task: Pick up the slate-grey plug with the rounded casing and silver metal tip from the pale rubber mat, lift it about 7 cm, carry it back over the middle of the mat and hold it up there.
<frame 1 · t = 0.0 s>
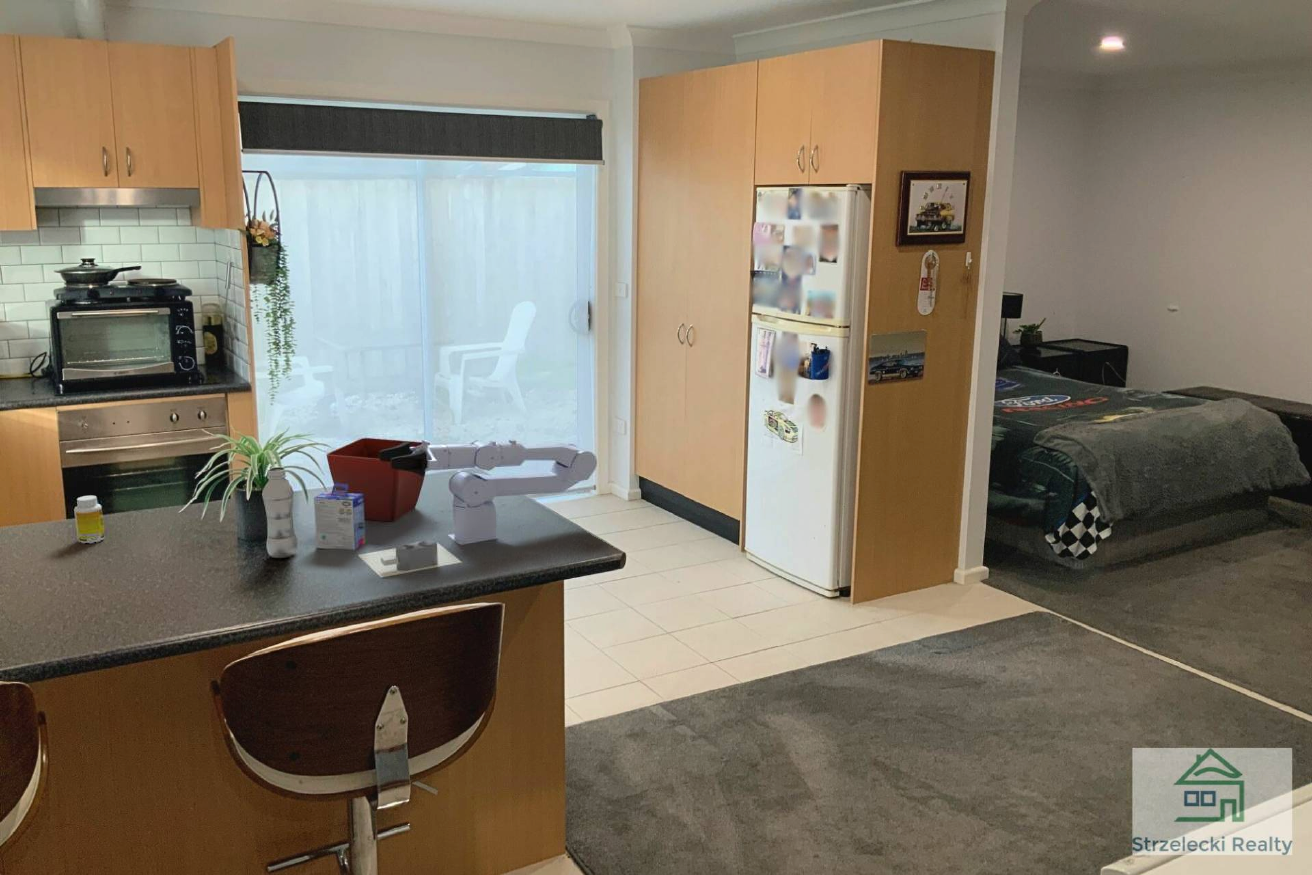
hand: (385, 459, 231), 22 cm above the worktop, tool horizontal, fingers open, 7 cm apart
mat: (409, 561, 232), on the worktop
plastic bottle: (283, 557, 234), on the worktop
plug: (417, 565, 227), point 1 cm above the worktop, touching mat
plant pot: (382, 513, 265), on the worktop
supplement bottle: (91, 541, 243), on the worktop
ink cartridge box: (341, 547, 241), on the worktop
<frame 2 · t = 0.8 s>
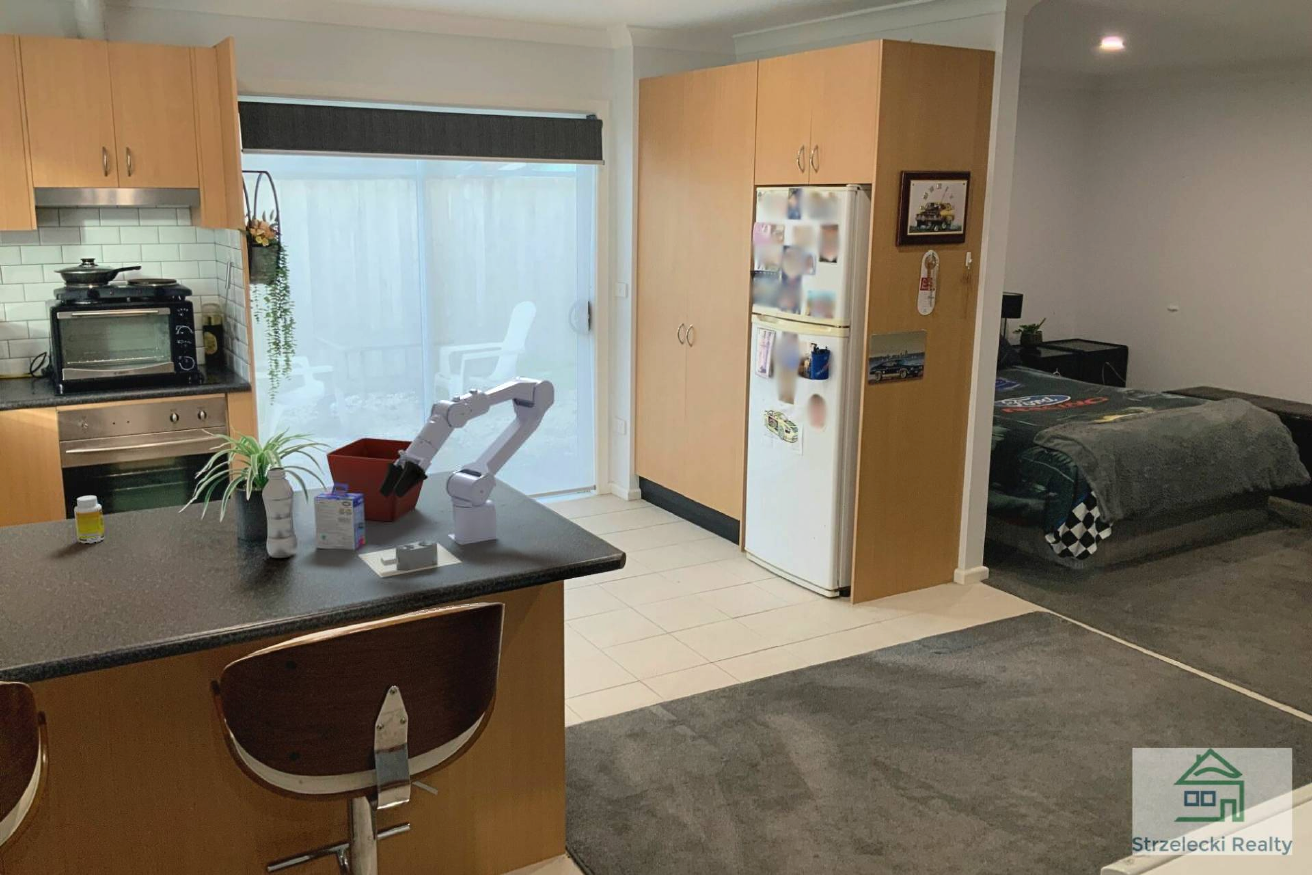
hand: (389, 494, 227), 16 cm above the worktop, tool tilted 50°, fingers open, 7 cm apart
nothing on the worktop moved.
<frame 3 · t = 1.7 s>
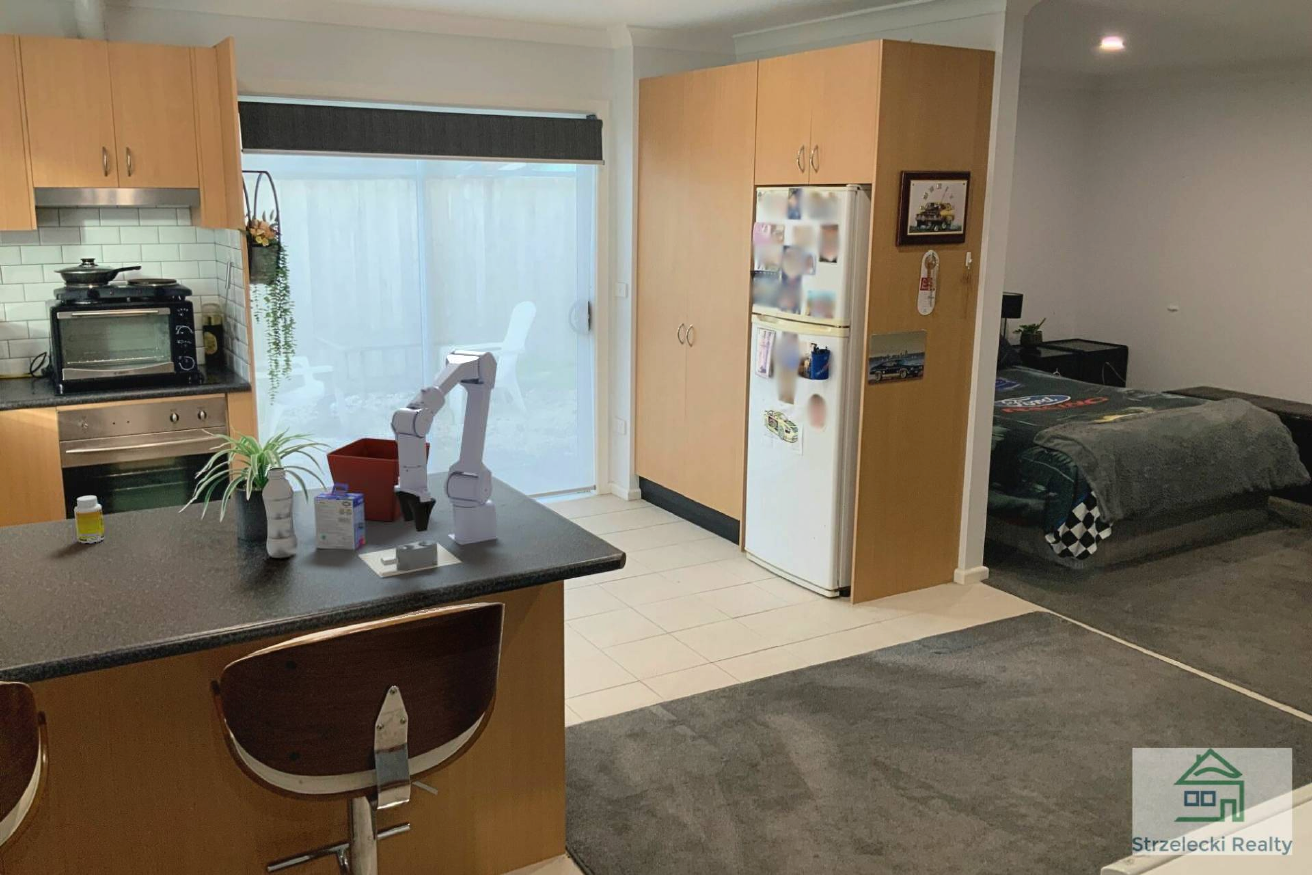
hand: (415, 525, 225), 10 cm above the worktop, tool pointing down, fingers open, 7 cm apart
nothing on the worktop moved.
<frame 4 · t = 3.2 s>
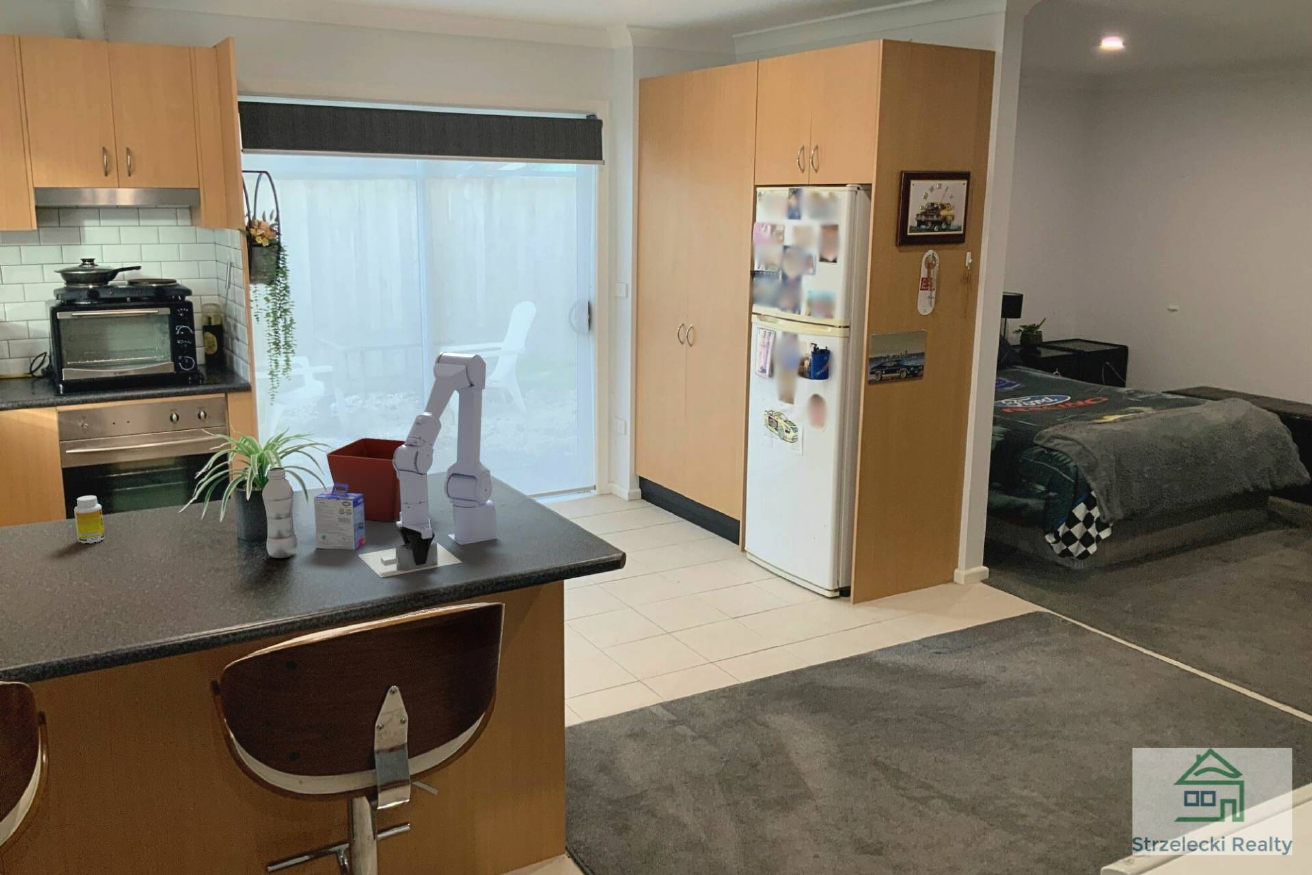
hand: (417, 560, 227), 2 cm above the worktop, tool pointing down, fingers closed on plug, 4 cm apart
plug: (417, 565, 227), point 1 cm above the worktop, touching gripper, mat
everything else where it was.
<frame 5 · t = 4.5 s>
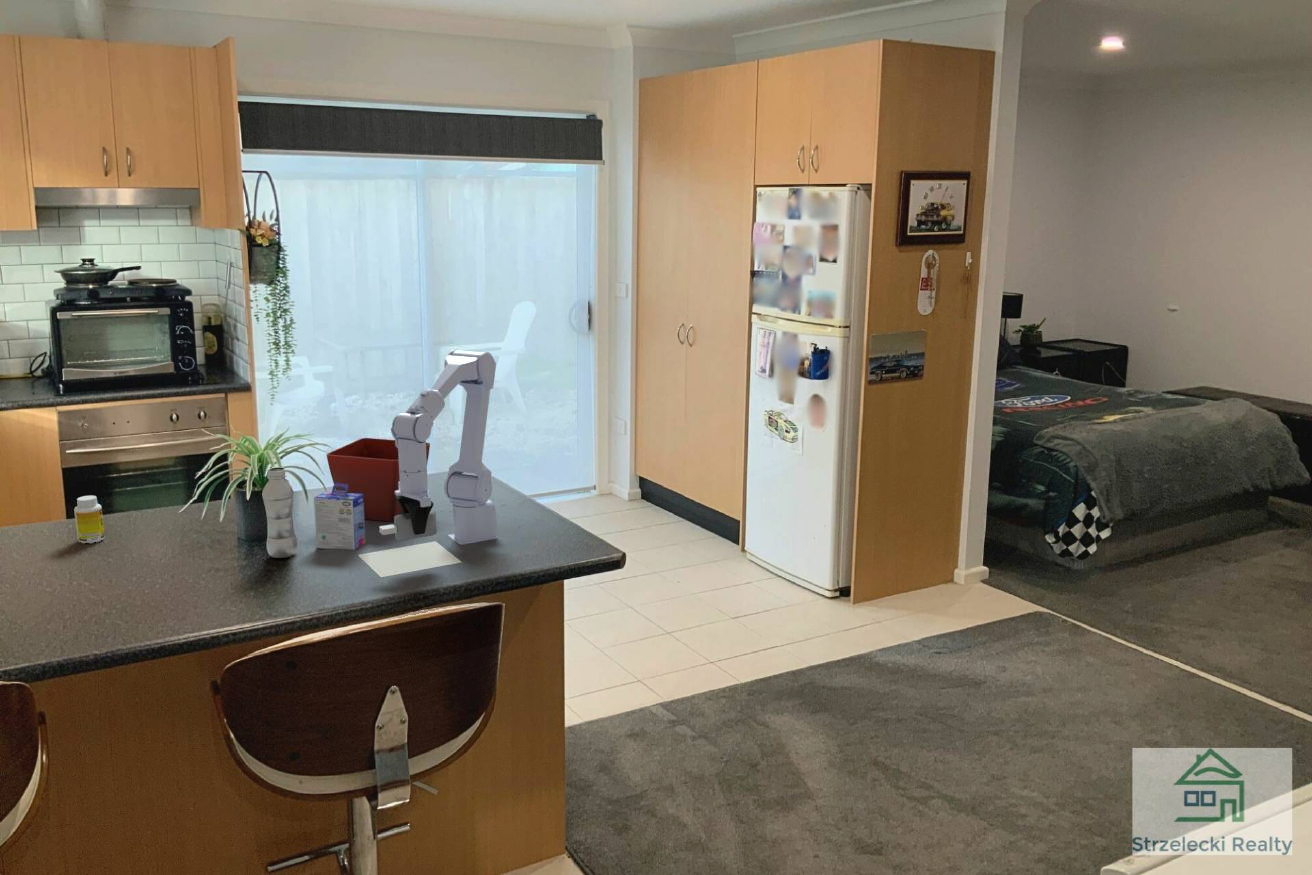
hand: (415, 530, 226), 8 cm above the worktop, tool pointing down, fingers closed on plug, 4 cm apart
plug: (416, 535, 226), point 7 cm above the worktop, touching gripper
everything else where it was.
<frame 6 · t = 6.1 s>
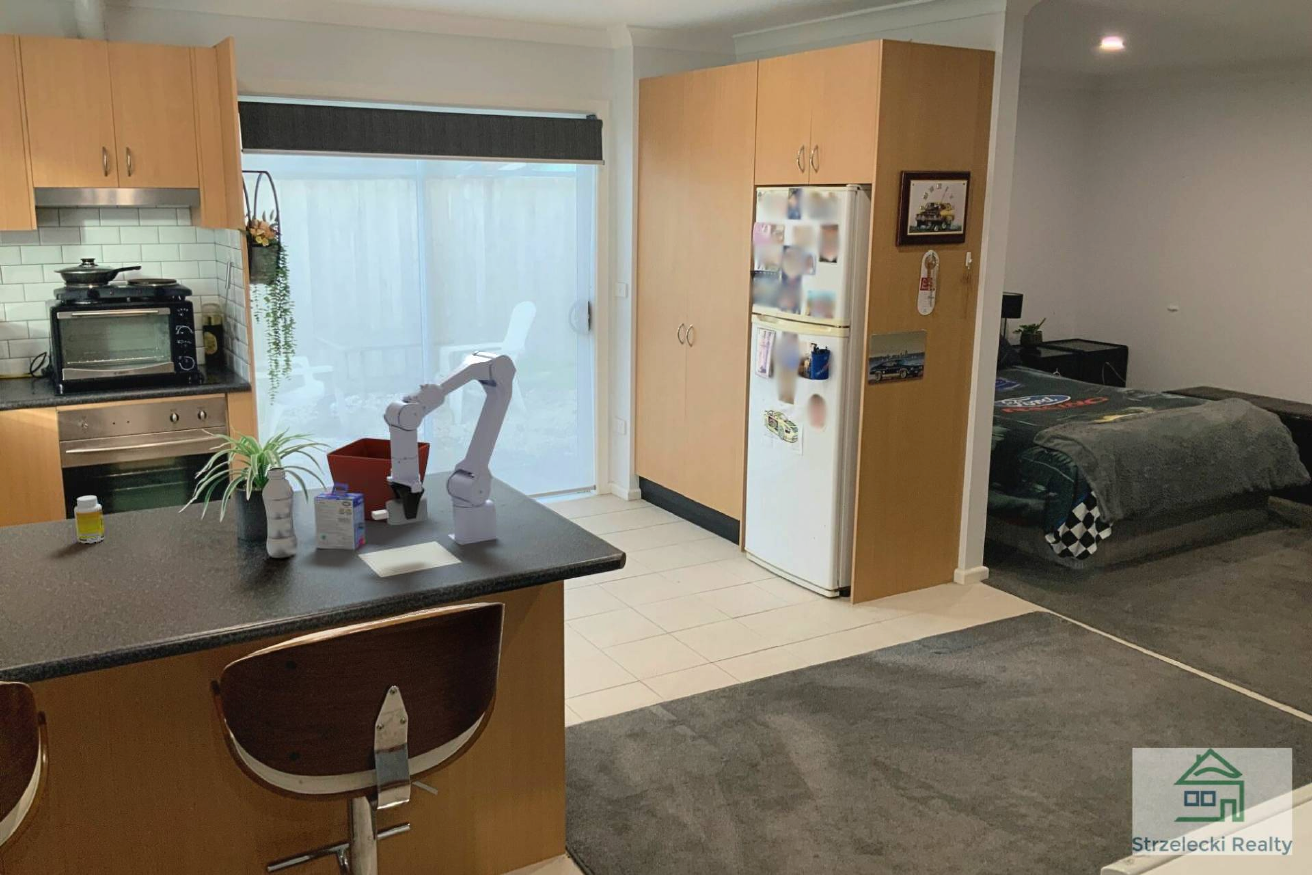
hand: (407, 515, 233), 9 cm above the worktop, tool pointing down, fingers closed on plug, 4 cm apart
plug: (407, 520, 233), point 8 cm above the worktop, touching gripper
everything else where it was.
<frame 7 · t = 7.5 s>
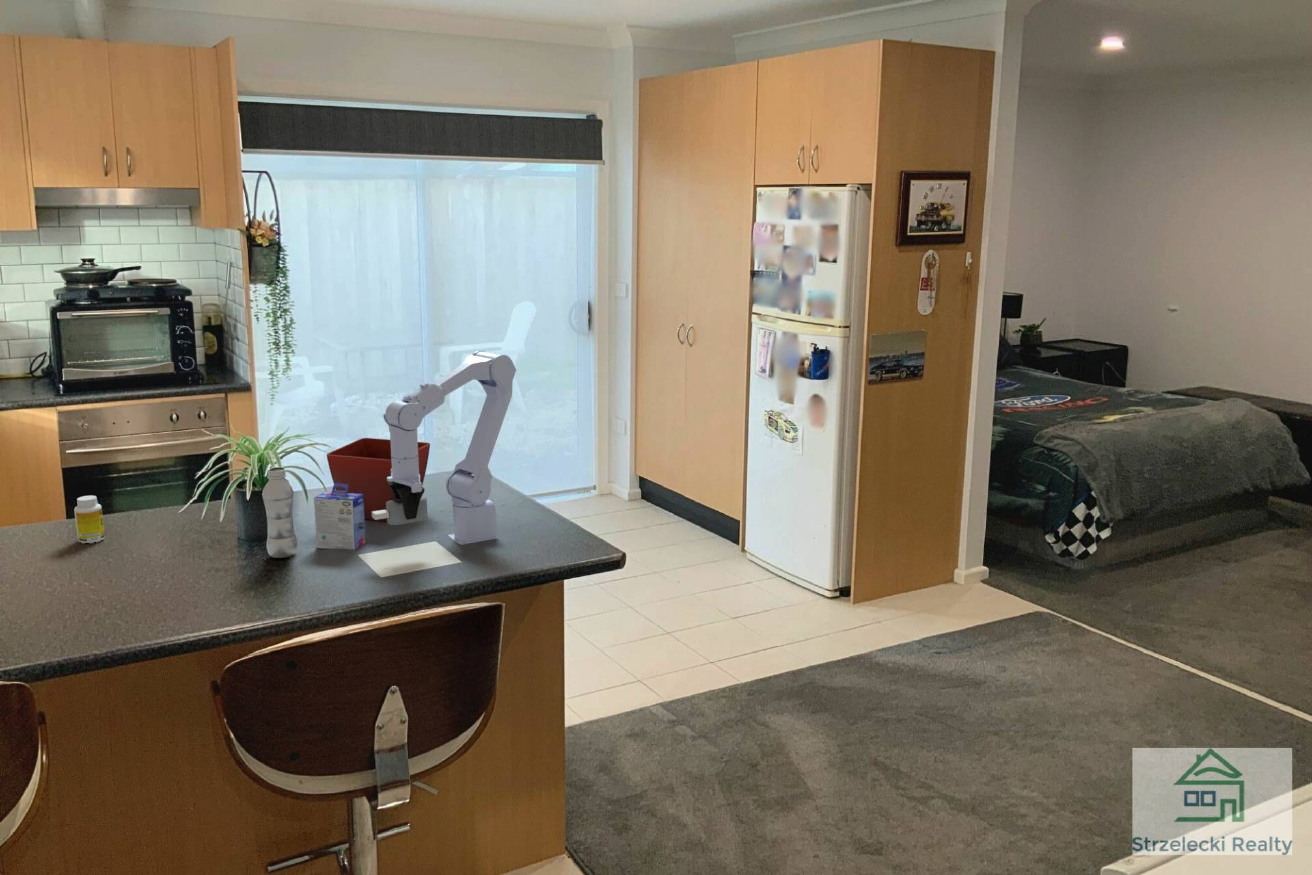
hand: (407, 515, 233), 9 cm above the worktop, tool pointing down, fingers closed on plug, 4 cm apart
plug: (407, 520, 233), point 8 cm above the worktop, touching gripper
everything else where it was.
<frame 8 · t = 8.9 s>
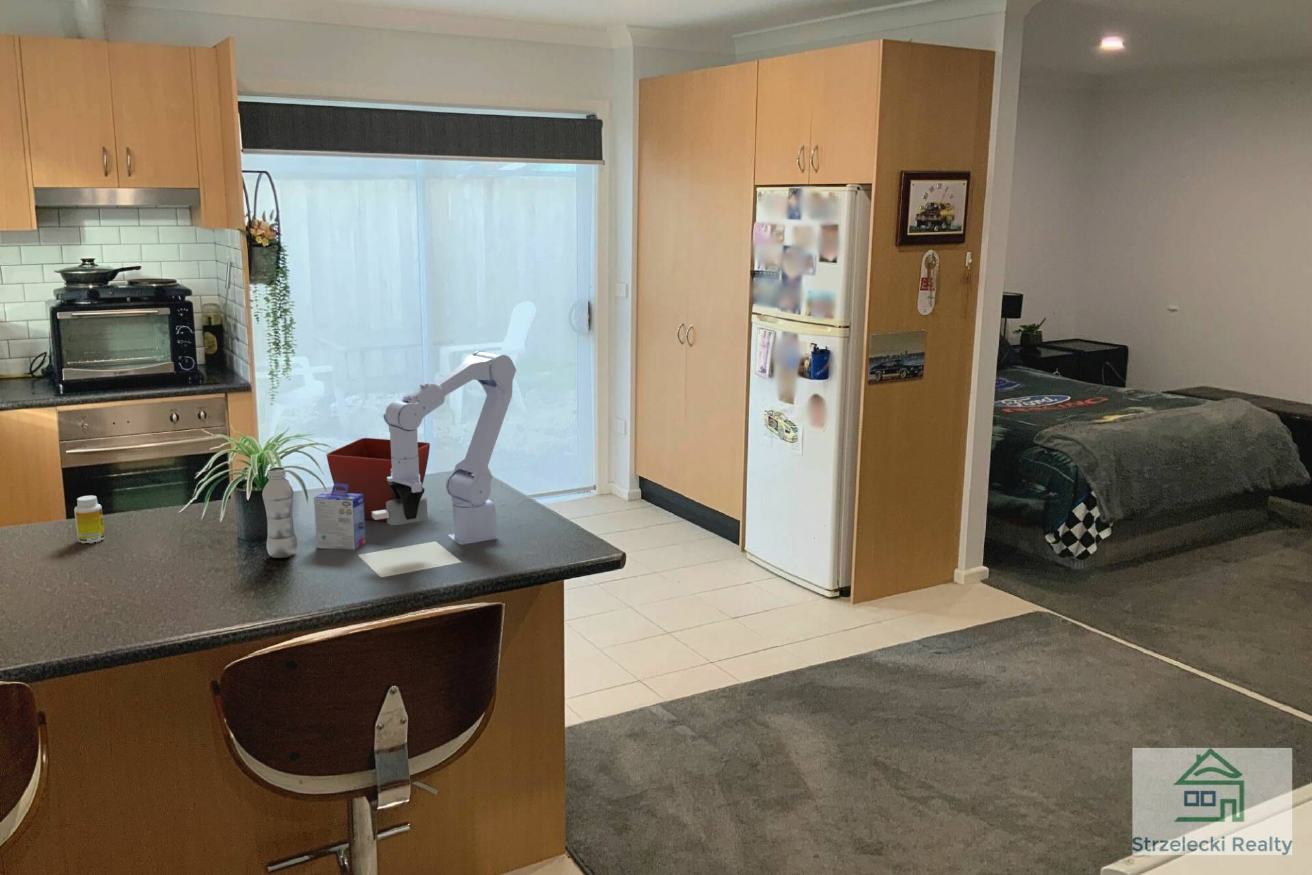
hand: (407, 515, 233), 9 cm above the worktop, tool pointing down, fingers closed on plug, 4 cm apart
plug: (407, 520, 233), point 8 cm above the worktop, touching gripper
everything else where it was.
at the end: the gripper is holding plug; plug point 8.4 cm above the worktop; plug touching gripper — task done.
